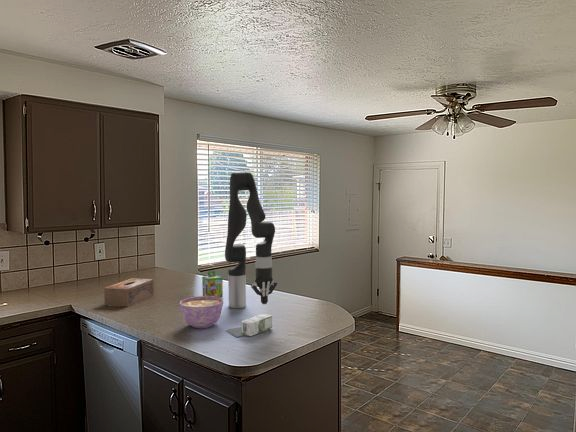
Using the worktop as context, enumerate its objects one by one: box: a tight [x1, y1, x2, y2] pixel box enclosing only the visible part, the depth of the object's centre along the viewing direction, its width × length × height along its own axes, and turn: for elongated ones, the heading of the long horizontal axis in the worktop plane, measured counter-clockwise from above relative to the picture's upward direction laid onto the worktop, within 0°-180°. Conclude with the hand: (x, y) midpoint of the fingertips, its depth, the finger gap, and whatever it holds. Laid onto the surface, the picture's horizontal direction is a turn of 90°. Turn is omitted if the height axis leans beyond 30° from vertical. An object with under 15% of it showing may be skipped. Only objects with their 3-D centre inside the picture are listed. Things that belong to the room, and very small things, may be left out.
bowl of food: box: [179, 295, 224, 330], centre depth 210 cm, size 20×20×12 cm
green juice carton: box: [201, 270, 224, 298], centre depth 265 cm, size 9×9×15 cm
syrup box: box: [241, 313, 273, 337], centre depth 201 cm, size 6×6×14 cm
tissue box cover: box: [103, 277, 155, 308], centre depth 258 cm, size 26×14×10 cm, turn 165°
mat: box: [225, 326, 270, 338], centre depth 202 cm, size 11×16×1 cm
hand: (264, 303), depth 206 cm, fingers closed
